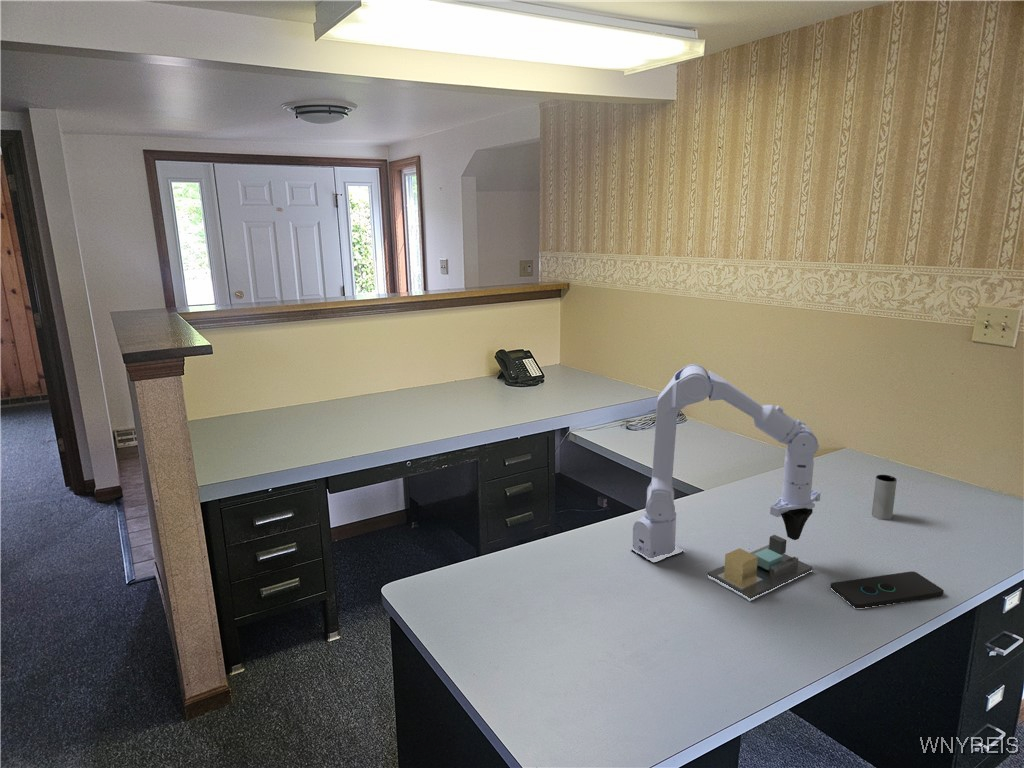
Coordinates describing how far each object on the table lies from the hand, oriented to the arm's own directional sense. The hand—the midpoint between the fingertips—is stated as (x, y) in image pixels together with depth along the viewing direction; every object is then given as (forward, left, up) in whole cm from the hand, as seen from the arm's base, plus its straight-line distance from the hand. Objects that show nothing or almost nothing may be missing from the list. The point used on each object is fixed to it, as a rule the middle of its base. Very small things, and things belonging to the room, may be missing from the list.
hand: (793, 537), depth 143 cm
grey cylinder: (+37, +1, -6) cm, 38 cm away
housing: (-17, 0, -4) cm, 17 cm away
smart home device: (+5, -18, -6) cm, 20 cm away
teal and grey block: (-7, 0, -4) cm, 8 cm away
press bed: (-11, 0, -6) cm, 12 cm away
